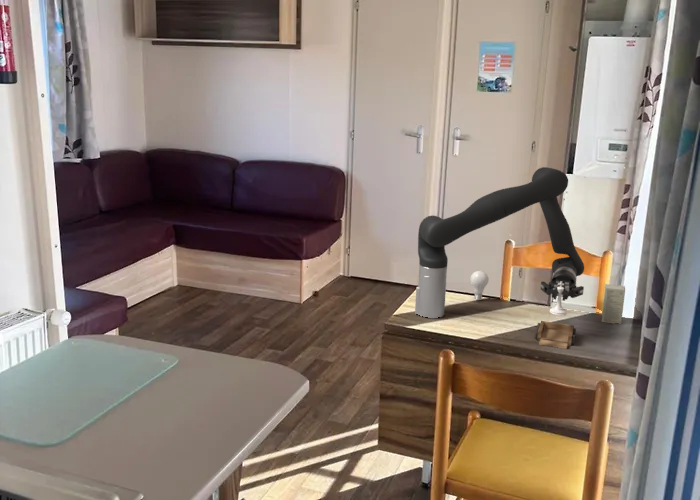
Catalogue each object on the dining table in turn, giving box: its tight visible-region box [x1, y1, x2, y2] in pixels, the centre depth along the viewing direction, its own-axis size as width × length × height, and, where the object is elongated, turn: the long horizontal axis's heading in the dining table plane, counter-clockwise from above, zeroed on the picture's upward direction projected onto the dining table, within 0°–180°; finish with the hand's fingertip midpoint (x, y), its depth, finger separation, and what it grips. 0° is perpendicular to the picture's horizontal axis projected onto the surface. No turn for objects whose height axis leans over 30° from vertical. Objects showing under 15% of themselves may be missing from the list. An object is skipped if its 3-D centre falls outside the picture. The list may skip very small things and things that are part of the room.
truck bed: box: [534, 320, 577, 350], centre depth 211 cm, size 12×13×3 cm
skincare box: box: [601, 283, 626, 325], centre depth 226 cm, size 6×4×12 cm
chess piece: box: [549, 281, 567, 316], centre depth 209 cm, size 5×5×10 cm
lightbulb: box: [469, 270, 489, 302], centre depth 243 cm, size 6×6×11 cm
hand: (559, 296), depth 206 cm, fingers closed on chess piece
